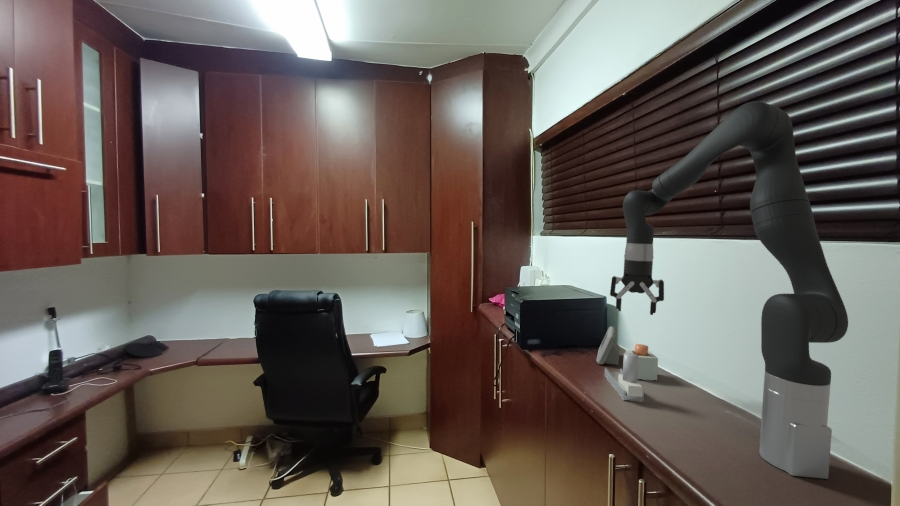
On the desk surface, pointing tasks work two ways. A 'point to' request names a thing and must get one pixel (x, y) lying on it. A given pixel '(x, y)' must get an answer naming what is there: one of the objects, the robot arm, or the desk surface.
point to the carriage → (630, 375)
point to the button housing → (646, 366)
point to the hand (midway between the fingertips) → (635, 312)
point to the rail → (613, 379)
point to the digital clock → (609, 349)
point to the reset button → (641, 350)
